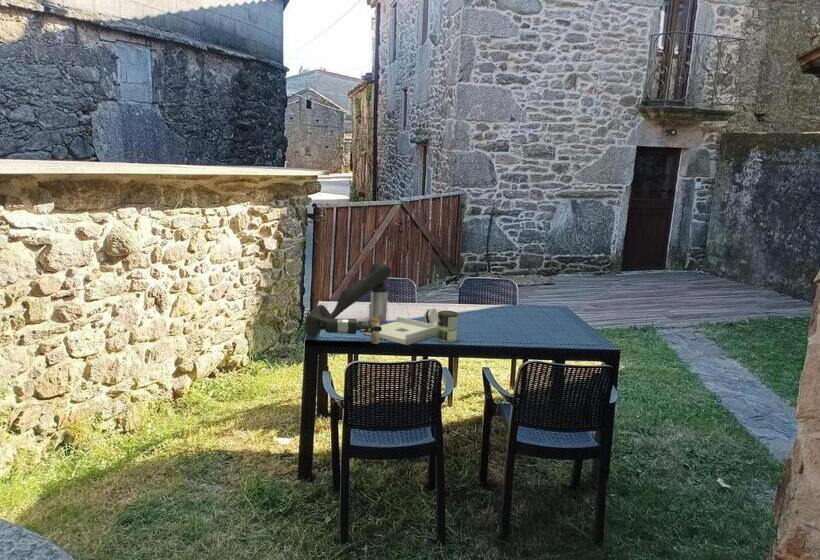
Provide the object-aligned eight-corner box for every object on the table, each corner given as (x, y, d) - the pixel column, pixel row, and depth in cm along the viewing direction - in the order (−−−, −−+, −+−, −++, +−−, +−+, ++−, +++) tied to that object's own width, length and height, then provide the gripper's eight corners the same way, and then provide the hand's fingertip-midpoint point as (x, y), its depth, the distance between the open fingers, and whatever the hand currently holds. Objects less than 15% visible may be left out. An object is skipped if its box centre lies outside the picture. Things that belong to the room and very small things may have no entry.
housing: (364, 334, 328) (364, 325, 327) (397, 325, 350) (398, 316, 350) (407, 345, 312) (407, 335, 311) (439, 334, 334) (439, 325, 333)
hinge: (435, 328, 346) (430, 311, 346) (427, 330, 348) (422, 313, 347) (442, 322, 362) (437, 305, 361) (434, 324, 364) (430, 307, 363)
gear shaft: (369, 342, 313) (369, 319, 311) (374, 341, 317) (375, 317, 315) (375, 344, 311) (376, 320, 309) (380, 342, 314) (381, 319, 312)
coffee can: (436, 341, 320) (438, 314, 318) (436, 336, 330) (437, 310, 328) (457, 342, 320) (458, 315, 318) (456, 337, 330) (457, 311, 328)
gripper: (345, 330, 317) (378, 331, 320) (347, 337, 303) (381, 338, 306) (346, 315, 316) (379, 316, 319) (348, 322, 302) (382, 323, 305)
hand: (380, 327), depth 312 cm, fingers open, 6 cm apart
